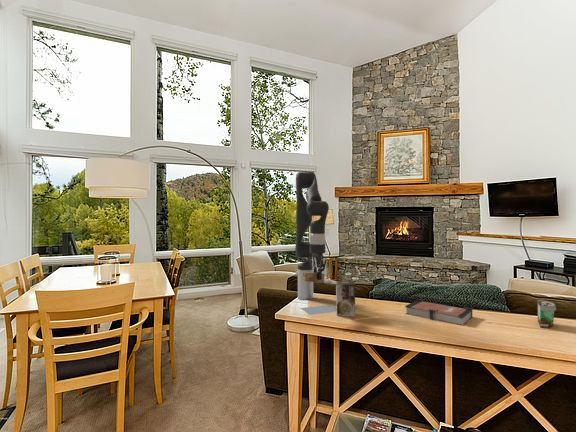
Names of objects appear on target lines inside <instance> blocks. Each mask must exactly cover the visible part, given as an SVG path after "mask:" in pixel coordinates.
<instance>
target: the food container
mask: <svg viewBox="0 0 576 432" xmlns="http://www.w3.org/2000/svg"><path fill="white" fill-rule="evenodd" d="M556 311H557V306H556V304H555V303H553V302H551V301H546V300H541V299H537V324H538V325H539V328H541V329H542V328H543V329H553V328H552V327H554V320H555V318H554V317H555V312H556Z"/></svg>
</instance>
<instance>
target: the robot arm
mask: <svg viewBox="0 0 576 432" xmlns="http://www.w3.org/2000/svg"><path fill="white" fill-rule="evenodd" d="M303 189H305V190H306V189H307V190H306V191H305V196H304V194H303ZM295 190H296V194H295V195H296V211H295V225H296V227H295V229H296V230H295V231H296V233H295V234H296V235H295V247H294V248H295V249H294V251H295V256H296V257H297V258H298V259H303V258H304V259H306V260H305V261H304V262H301V263H298V264H297V299H299V300H305V301H307V300H313V299H314V282H308V281H303V280H302V276H303V272H313V273H317V280H321V279H322V273H323V272H324V271H325V268H326V264H327V259H324V254H326V234H325V233H326V221H327V217H328V214H329V210H330V209H329V207H330V205H329V203H328V202H327V201H324V200H322V197H321V196H322V195H321V194H320V192H319V187H318V180H317V176H316V174H315V172H313V171H299V172H297V173H296V174H295ZM313 217H319V219H318V220H313ZM308 229H309V233H310V234H309V241H303V242H302V240H303V238H304V236H305V234H306V232H307V231H308Z"/></svg>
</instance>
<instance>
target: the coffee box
mask: <svg viewBox="0 0 576 432" xmlns="http://www.w3.org/2000/svg"><path fill="white" fill-rule="evenodd" d="M336 282H337V284H335V299H336V300H335V304H336V305H335V307H336V311H335V313H336V316H337V317H356V284H355V282H354V281H336Z"/></svg>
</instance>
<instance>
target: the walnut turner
mask: <svg viewBox="0 0 576 432" xmlns="http://www.w3.org/2000/svg"><path fill="white" fill-rule="evenodd" d="M302 280H303V281H308V282H313V283H323V284H328V285H329V284H330V285H336V284H337V282H338V281H335V280H332V279H327V278H325V273H323V272H322V279H321V280H317V273H313V272H303V276H302Z"/></svg>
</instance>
